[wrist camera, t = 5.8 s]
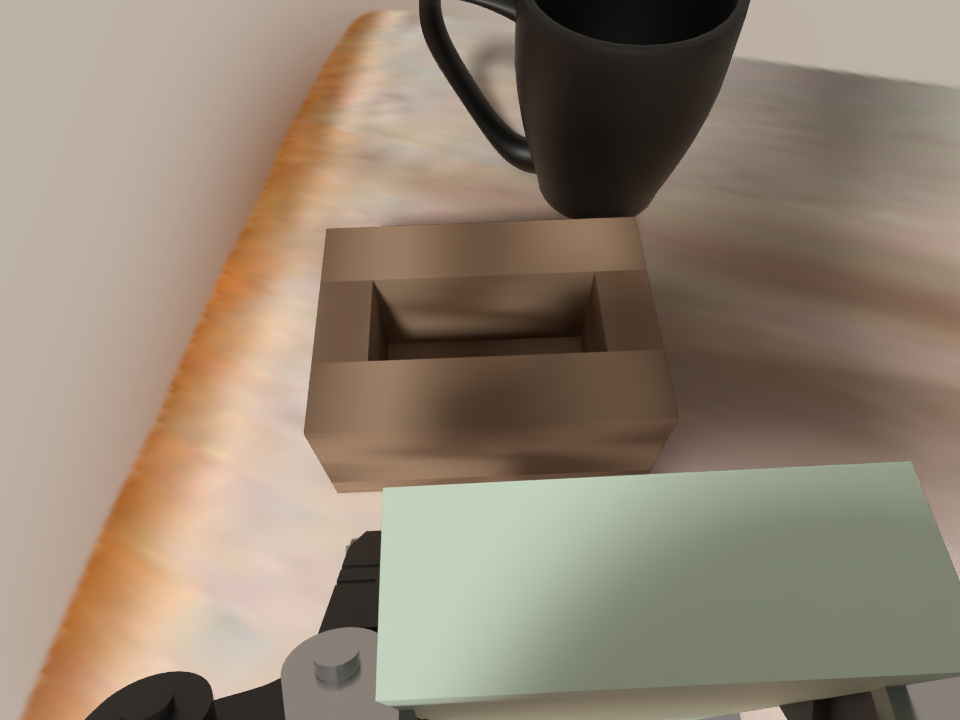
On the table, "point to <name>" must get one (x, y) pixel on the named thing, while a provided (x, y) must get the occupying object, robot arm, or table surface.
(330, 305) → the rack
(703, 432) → the table surface
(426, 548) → the tall mint green block
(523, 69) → the mug
